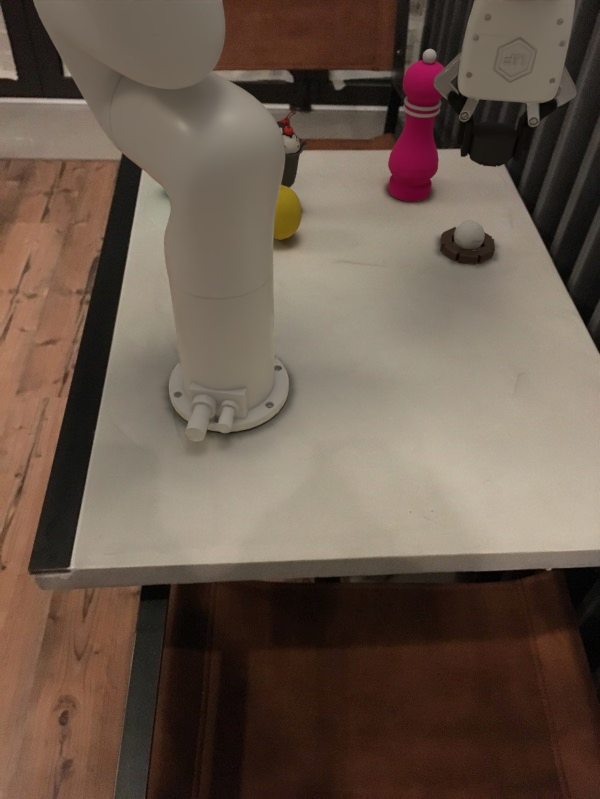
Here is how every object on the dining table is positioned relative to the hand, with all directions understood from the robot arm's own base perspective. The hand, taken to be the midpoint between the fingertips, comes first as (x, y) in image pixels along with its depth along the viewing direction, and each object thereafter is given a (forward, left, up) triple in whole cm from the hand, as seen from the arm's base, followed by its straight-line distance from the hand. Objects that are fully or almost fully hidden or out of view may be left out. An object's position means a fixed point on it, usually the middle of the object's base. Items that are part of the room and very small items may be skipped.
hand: (489, 151), depth 77 cm
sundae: (+10, +25, -16) cm, 32 cm away
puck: (0, 0, -1) cm, 1 cm away
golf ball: (+5, -1, -16) cm, 17 cm away
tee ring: (+5, -1, -16) cm, 17 cm away
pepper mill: (+19, +7, -16) cm, 26 cm away
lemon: (+3, +24, -16) cm, 29 cm away
